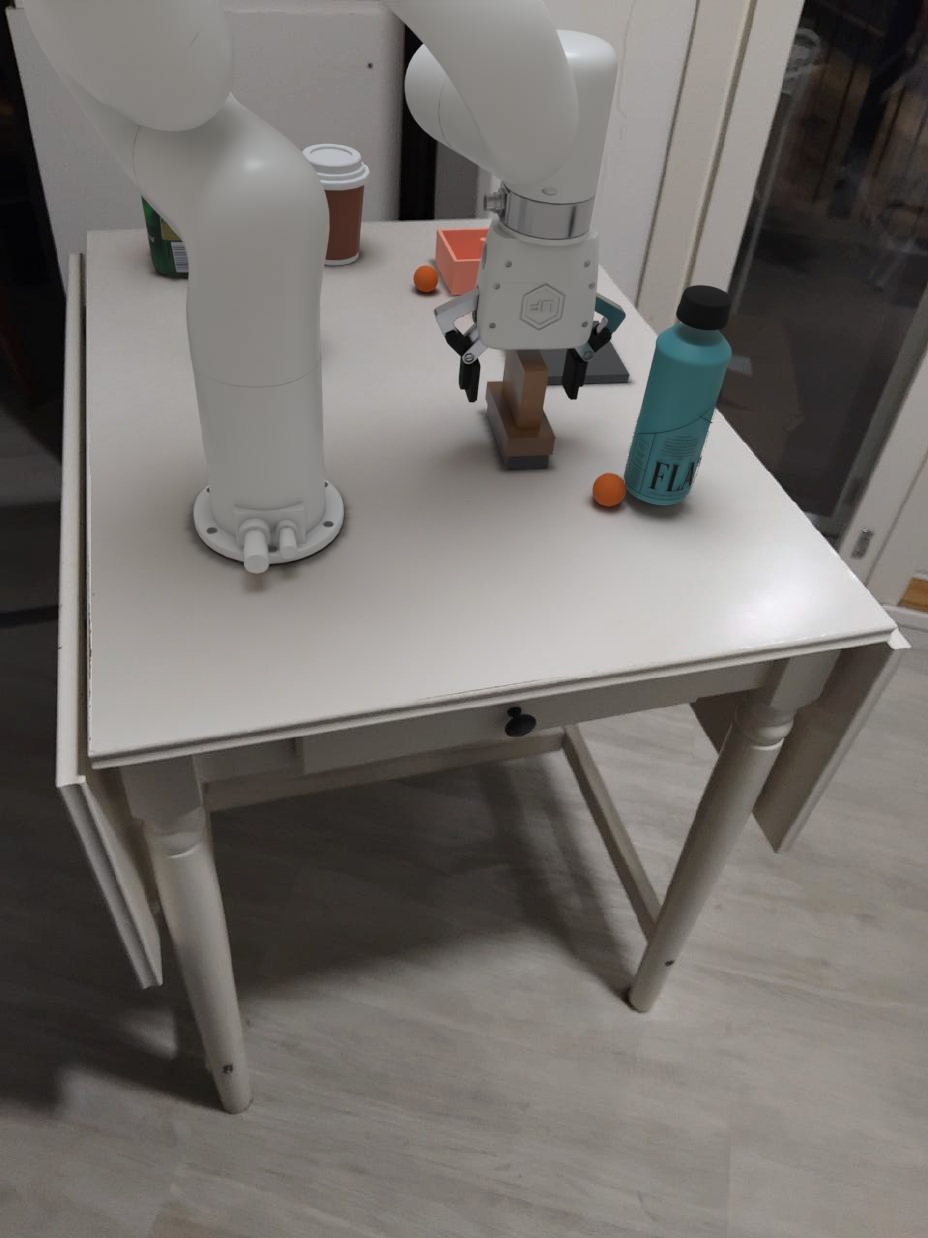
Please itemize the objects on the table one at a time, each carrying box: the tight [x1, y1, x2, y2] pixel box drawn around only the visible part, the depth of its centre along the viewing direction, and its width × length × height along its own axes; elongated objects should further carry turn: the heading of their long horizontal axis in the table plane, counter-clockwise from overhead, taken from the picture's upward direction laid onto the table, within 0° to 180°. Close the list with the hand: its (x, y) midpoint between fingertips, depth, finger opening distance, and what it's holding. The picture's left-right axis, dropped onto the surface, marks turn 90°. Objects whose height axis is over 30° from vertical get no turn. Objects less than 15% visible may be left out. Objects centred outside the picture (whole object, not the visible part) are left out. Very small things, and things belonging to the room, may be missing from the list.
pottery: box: [434, 227, 489, 296], centre depth 111 cm, size 18×10×10 cm, turn 14°
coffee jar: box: [140, 195, 189, 278], centre depth 108 cm, size 10×8×19 cm
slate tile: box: [539, 320, 631, 386], centre depth 105 cm, size 12×12×1 cm
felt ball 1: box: [412, 264, 440, 293], centre depth 113 cm, size 3×3×3 cm
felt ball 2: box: [591, 472, 627, 507], centre depth 86 cm, size 3×3×3 cm
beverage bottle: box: [623, 284, 733, 506], centre depth 81 cm, size 6×7×20 cm
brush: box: [484, 349, 557, 470], centre depth 90 cm, size 10×4×10 cm, turn 11°
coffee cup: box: [301, 143, 371, 266], centre depth 115 cm, size 9×9×12 cm
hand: (519, 393), depth 89 cm, fingers open, 9 cm apart
